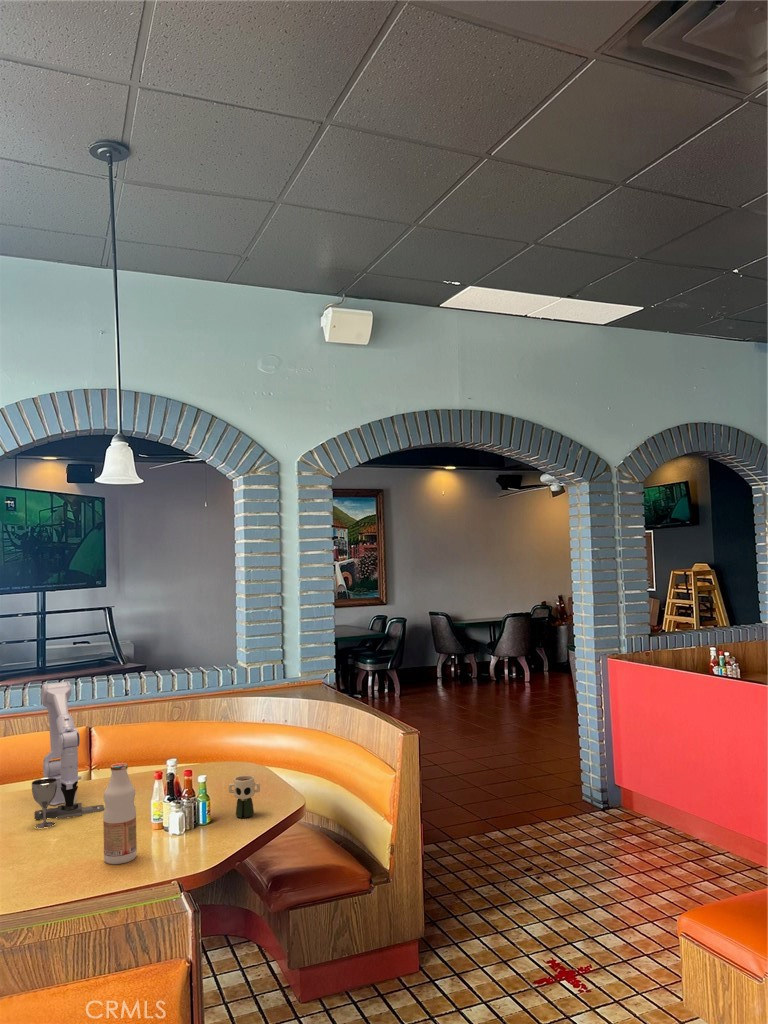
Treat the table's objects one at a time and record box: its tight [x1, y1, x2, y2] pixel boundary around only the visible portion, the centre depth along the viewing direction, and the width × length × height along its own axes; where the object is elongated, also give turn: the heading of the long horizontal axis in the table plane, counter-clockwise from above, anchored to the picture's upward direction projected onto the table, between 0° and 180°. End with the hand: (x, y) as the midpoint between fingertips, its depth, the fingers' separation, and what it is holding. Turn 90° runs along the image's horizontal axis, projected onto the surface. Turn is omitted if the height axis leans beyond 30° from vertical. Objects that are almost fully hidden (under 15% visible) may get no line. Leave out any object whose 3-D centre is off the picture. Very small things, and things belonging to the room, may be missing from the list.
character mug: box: [228, 774, 261, 818], centre depth 269 cm, size 11×7×13 cm, turn 90°
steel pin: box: [63, 792, 78, 810], centre depth 277 cm, size 4×4×9 cm
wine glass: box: [31, 777, 57, 828], centre depth 266 cm, size 8×8×15 cm
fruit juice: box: [102, 762, 138, 865], centre depth 235 cm, size 9×9×28 cm
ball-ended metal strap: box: [33, 802, 105, 821], centre depth 277 cm, size 23×8×2 cm, turn 112°
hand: (69, 804), depth 277 cm, fingers closed on steel pin, 4 cm apart
